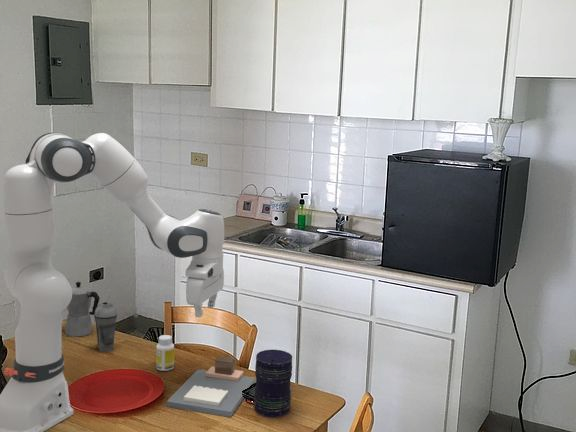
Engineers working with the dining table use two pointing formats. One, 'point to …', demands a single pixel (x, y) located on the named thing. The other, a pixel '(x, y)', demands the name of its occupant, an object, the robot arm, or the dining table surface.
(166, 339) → the supplement bottle
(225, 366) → the brown and pink block
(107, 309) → the beverage cup
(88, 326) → the coffeepot
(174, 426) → the dining table surface
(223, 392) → the board
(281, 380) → the storage jar
